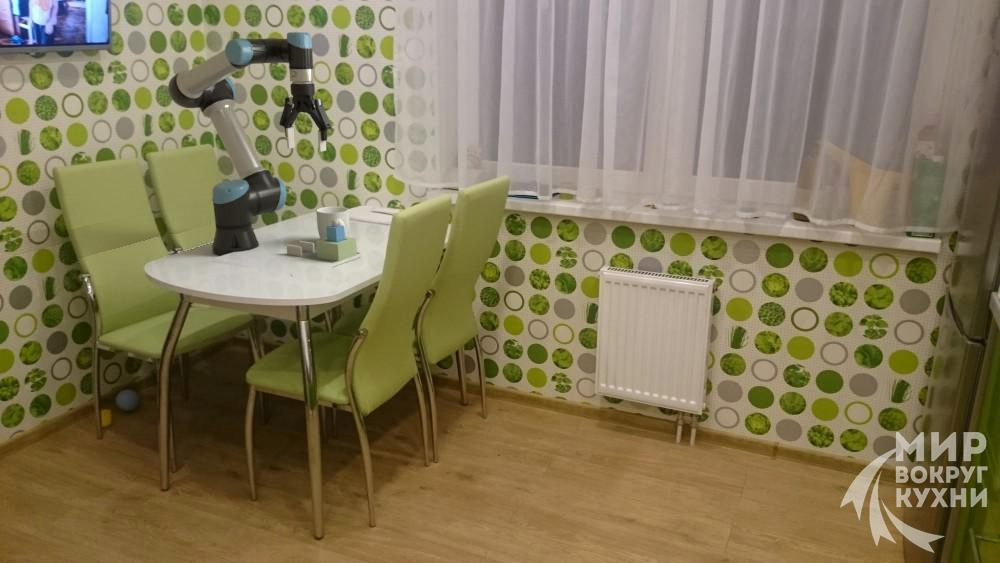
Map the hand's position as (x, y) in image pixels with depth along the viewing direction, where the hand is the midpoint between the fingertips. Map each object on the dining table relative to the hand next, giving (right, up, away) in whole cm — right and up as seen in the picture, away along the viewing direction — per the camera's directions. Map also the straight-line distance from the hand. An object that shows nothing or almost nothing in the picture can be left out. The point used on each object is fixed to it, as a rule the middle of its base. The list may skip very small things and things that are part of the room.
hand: (306, 149), depth 264 cm
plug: (+10, -35, 0) cm, 36 cm away
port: (+10, -35, 0) cm, 36 cm away
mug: (+6, -31, +17) cm, 36 cm away
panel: (+5, -35, +3) cm, 36 cm away
